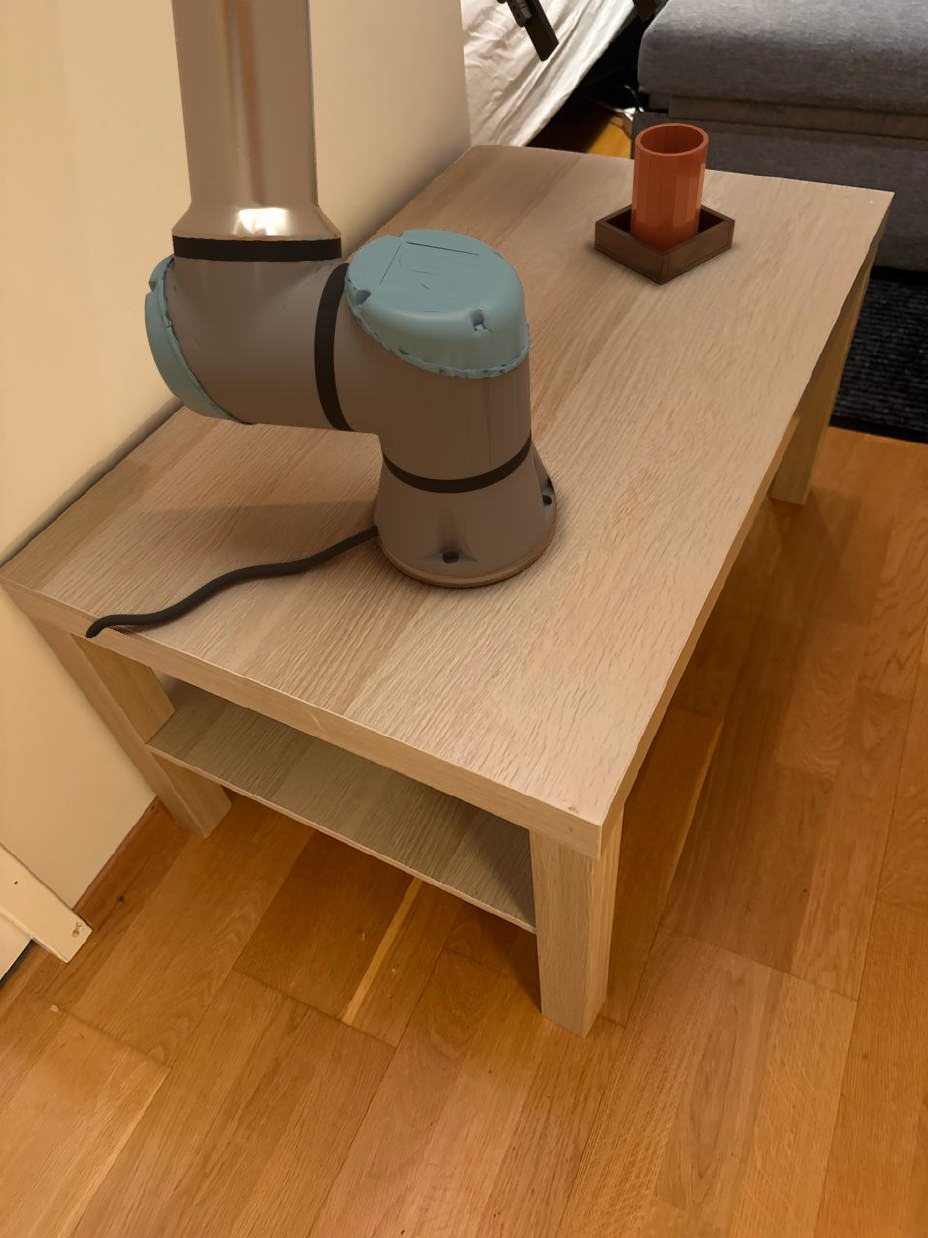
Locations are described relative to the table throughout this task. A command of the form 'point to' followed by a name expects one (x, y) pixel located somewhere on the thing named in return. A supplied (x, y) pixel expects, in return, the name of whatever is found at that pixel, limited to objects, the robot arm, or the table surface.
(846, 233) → the table surface
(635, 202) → the pencil cup
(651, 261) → the tray
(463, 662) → the table surface
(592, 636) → the table surface
